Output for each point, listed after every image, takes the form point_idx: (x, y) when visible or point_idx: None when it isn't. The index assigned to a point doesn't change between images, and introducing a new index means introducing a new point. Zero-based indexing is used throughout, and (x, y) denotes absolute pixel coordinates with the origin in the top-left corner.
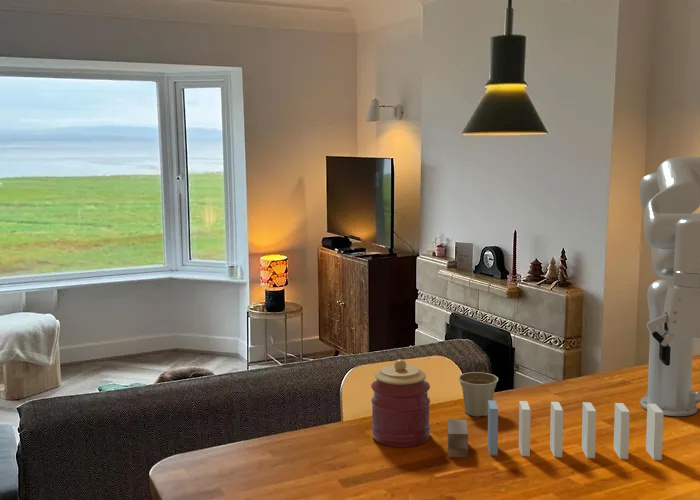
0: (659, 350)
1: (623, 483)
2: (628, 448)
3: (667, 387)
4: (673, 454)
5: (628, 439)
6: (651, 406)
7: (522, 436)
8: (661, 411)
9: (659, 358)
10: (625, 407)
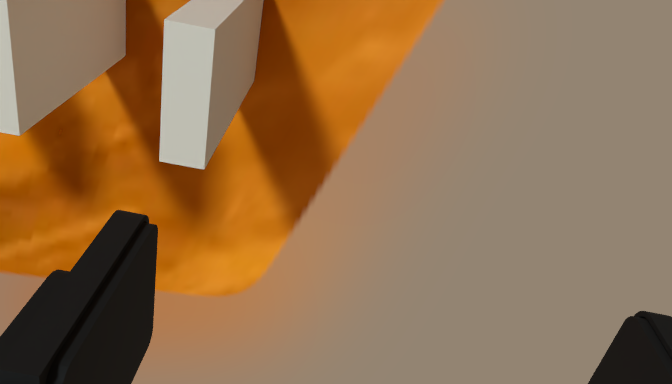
0: (10, 327)
1: (60, 222)
2: (107, 69)
3: None
4: (327, 34)
5: (89, 81)
6: (171, 72)
7: None
8: (198, 155)
9: (61, 272)
10: (8, 68)
